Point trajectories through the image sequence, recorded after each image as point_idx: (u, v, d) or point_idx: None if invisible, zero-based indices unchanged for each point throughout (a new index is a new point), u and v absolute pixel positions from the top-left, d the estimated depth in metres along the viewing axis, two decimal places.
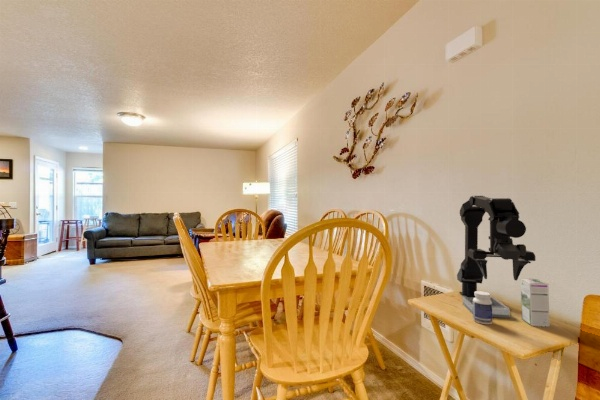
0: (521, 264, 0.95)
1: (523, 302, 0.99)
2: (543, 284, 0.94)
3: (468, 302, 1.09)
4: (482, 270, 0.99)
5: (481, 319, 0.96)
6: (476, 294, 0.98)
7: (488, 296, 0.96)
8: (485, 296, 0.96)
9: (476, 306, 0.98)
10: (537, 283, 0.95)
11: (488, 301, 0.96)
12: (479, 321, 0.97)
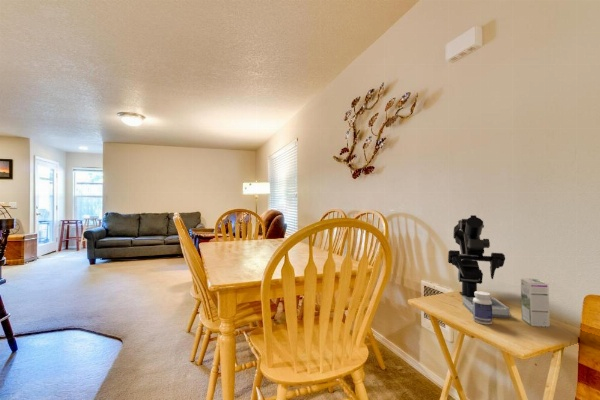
0: (493, 261, 1.06)
1: (523, 302, 0.99)
2: (543, 284, 0.94)
3: (468, 302, 1.09)
4: (460, 268, 1.10)
5: (481, 319, 0.96)
6: (476, 294, 0.98)
7: (488, 296, 0.96)
8: (485, 296, 0.96)
9: (476, 306, 0.98)
10: (537, 283, 0.95)
11: (488, 301, 0.96)
12: (479, 321, 0.97)
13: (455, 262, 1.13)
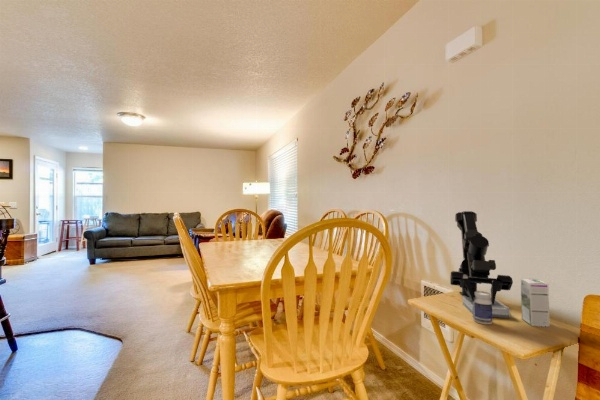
0: (494, 284, 0.98)
1: (523, 302, 0.99)
2: (543, 284, 0.94)
3: (468, 302, 1.09)
4: (468, 292, 1.01)
5: (481, 319, 0.96)
6: (476, 294, 0.98)
7: (488, 296, 0.96)
8: (485, 296, 0.96)
9: (476, 306, 0.98)
10: (537, 283, 0.95)
11: (488, 301, 0.96)
12: (479, 321, 0.97)
13: (463, 285, 1.04)
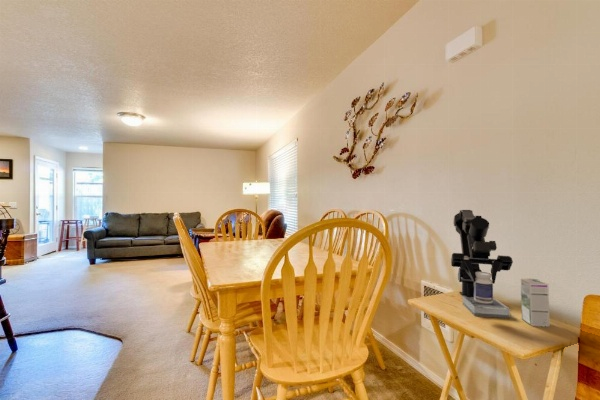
0: (495, 265, 1.00)
1: (523, 302, 0.99)
2: (543, 284, 0.94)
3: (468, 302, 1.09)
4: (469, 273, 1.03)
5: (482, 298, 0.98)
6: (477, 274, 1.00)
7: (489, 276, 0.98)
8: (486, 276, 0.98)
9: (477, 286, 1.00)
10: (537, 283, 0.95)
11: (489, 281, 0.98)
12: (480, 300, 0.99)
13: (464, 266, 1.06)
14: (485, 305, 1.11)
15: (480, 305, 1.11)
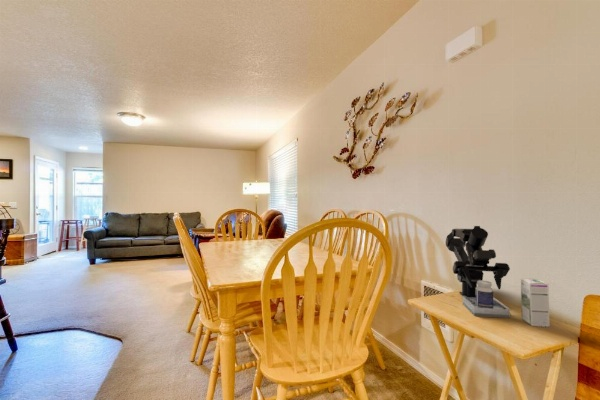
0: (499, 272, 1.08)
1: (523, 302, 0.99)
2: (543, 284, 0.94)
3: (468, 302, 1.09)
4: (467, 279, 1.10)
5: (485, 306, 1.06)
6: (479, 283, 1.08)
7: (490, 284, 1.07)
8: (488, 284, 1.06)
9: (479, 294, 1.07)
10: (537, 283, 0.95)
11: (490, 289, 1.06)
12: None
13: (461, 273, 1.14)
14: None
15: None
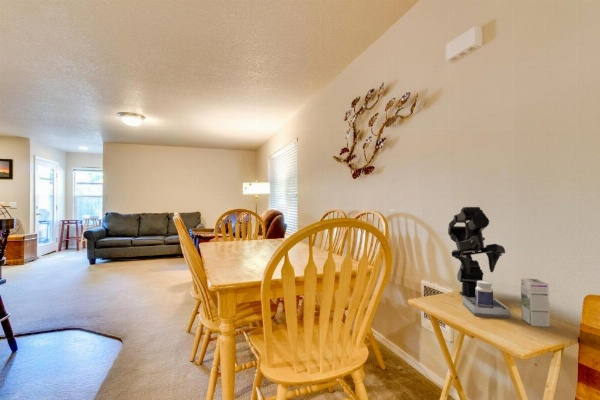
0: (488, 255, 1.10)
1: (523, 302, 0.99)
2: (543, 284, 0.94)
3: (468, 302, 1.09)
4: None
5: (485, 306, 1.06)
6: (479, 283, 1.08)
7: (490, 284, 1.07)
8: (488, 284, 1.06)
9: (479, 294, 1.07)
10: (537, 283, 0.95)
11: (490, 289, 1.06)
12: None
13: None
14: None
15: None
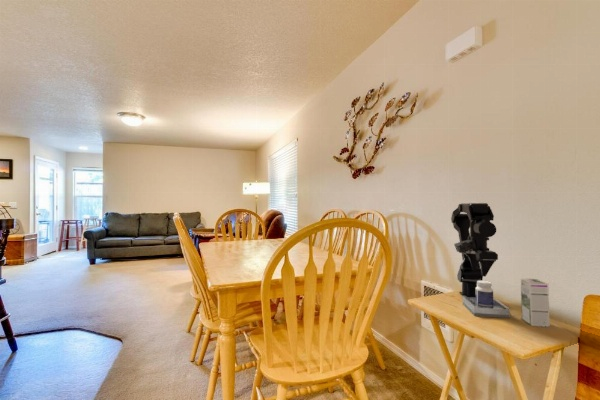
0: (478, 261, 1.08)
1: (523, 302, 0.99)
2: (543, 284, 0.94)
3: (468, 302, 1.09)
4: None
5: (485, 306, 1.06)
6: (479, 283, 1.08)
7: (490, 284, 1.07)
8: (488, 284, 1.06)
9: (479, 294, 1.07)
10: (537, 283, 0.95)
11: (490, 289, 1.06)
12: None
13: None
14: None
15: None
